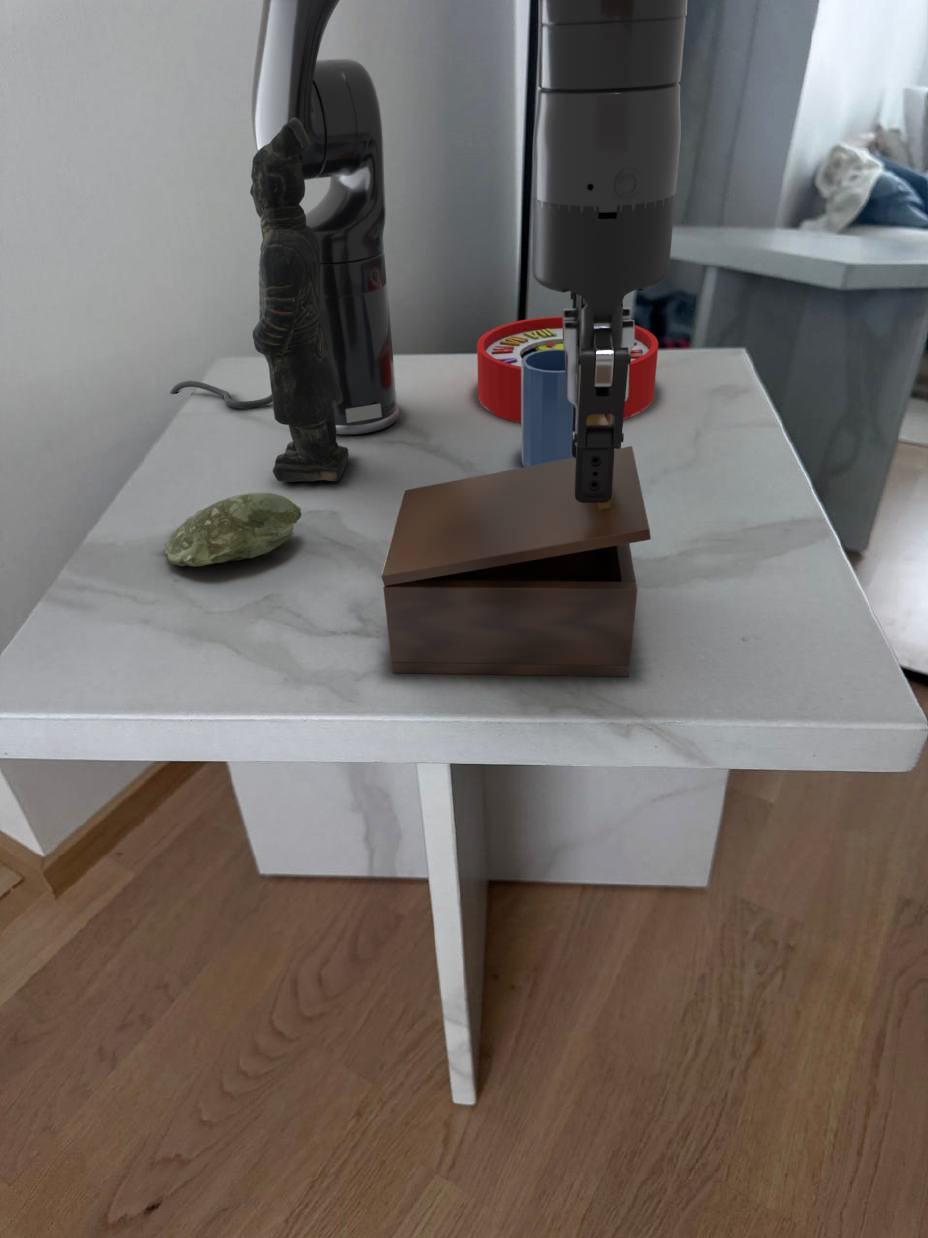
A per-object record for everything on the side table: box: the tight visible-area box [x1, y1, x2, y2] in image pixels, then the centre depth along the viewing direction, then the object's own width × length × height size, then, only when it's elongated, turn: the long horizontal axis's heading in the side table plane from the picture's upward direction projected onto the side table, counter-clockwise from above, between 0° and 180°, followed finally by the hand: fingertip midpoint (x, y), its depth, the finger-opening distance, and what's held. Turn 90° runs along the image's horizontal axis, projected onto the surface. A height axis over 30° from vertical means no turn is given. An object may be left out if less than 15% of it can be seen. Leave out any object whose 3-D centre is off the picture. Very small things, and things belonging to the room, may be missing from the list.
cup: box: [520, 349, 573, 467], centre depth 82 cm, size 6×6×10 cm
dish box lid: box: [380, 414, 652, 586], centre depth 56 cm, size 17×12×5 cm
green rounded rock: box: [164, 492, 302, 567], centre depth 72 cm, size 10×7×10 cm
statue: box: [249, 117, 350, 483], centre depth 76 cm, size 10×7×30 cm
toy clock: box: [476, 315, 659, 424], centre depth 97 cm, size 20×6×20 cm
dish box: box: [382, 543, 638, 677], centre depth 60 cm, size 16×12×7 cm
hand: (590, 476), depth 55 cm, fingers closed on dish box lid, 5 cm apart
